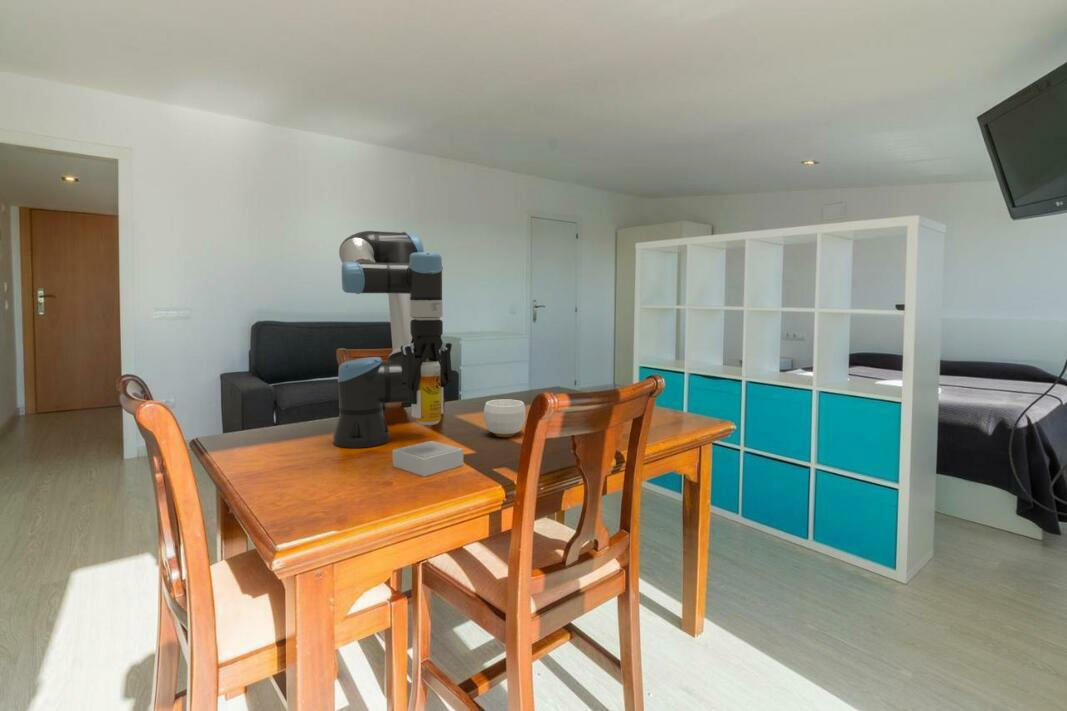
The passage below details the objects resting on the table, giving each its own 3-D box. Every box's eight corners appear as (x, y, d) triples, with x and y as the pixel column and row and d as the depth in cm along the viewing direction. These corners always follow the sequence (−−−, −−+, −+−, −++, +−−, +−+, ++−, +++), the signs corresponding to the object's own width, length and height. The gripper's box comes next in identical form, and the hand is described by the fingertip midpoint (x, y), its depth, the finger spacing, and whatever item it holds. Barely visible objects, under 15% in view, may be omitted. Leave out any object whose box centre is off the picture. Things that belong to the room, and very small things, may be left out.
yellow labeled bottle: (435, 426, 136) (434, 362, 135) (411, 424, 138) (410, 361, 136) (444, 420, 142) (443, 359, 141) (421, 419, 143) (420, 359, 142)
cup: (477, 437, 169) (477, 405, 168) (493, 428, 180) (493, 397, 179) (517, 441, 165) (517, 407, 164) (531, 431, 177) (531, 400, 176)
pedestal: (392, 466, 141) (392, 448, 140) (432, 455, 150) (431, 439, 149) (424, 476, 133) (423, 458, 132) (463, 465, 142) (463, 448, 141)
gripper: (402, 320, 128) (404, 423, 130) (467, 318, 142) (467, 411, 144) (382, 319, 133) (384, 419, 135) (447, 317, 147) (447, 407, 149)
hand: (427, 414), depth 140 cm, fingers closed on yellow labeled bottle, 6 cm apart
